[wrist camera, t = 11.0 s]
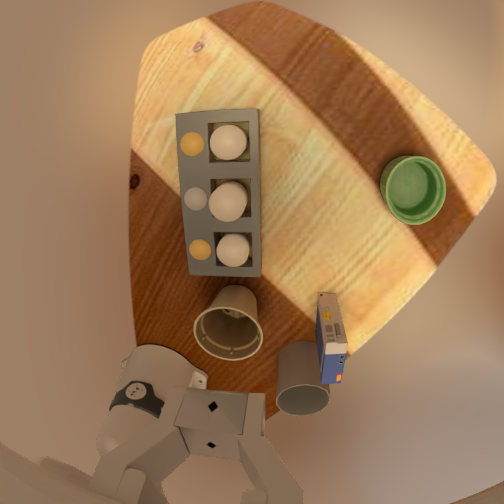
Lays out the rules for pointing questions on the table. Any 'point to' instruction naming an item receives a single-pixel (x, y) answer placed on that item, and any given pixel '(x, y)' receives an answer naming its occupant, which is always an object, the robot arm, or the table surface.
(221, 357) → the flower pot
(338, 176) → the table surface
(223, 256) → the button
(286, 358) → the cup
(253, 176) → the board
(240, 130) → the button
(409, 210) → the ramekin
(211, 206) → the button
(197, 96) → the table surface
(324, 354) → the walkman
